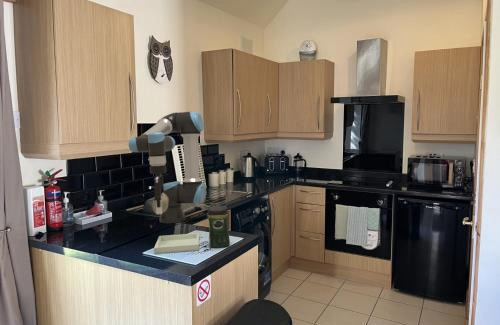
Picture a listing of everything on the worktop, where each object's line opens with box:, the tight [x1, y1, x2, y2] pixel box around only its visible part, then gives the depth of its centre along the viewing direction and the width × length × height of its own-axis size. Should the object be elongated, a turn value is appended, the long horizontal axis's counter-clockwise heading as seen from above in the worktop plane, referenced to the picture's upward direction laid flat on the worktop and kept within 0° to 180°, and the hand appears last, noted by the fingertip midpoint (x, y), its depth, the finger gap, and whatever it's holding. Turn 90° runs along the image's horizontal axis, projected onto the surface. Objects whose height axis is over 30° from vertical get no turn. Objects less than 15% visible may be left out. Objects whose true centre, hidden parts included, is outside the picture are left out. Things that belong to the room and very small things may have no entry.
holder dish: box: [153, 232, 200, 255], centre depth 179 cm, size 19×19×3 cm
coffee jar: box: [206, 205, 231, 248], centre depth 177 cm, size 10×8×19 cm
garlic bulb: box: [151, 193, 169, 214], centre depth 184 cm, size 9×8×10 cm
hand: (160, 211), depth 184 cm, fingers closed on garlic bulb, 9 cm apart
